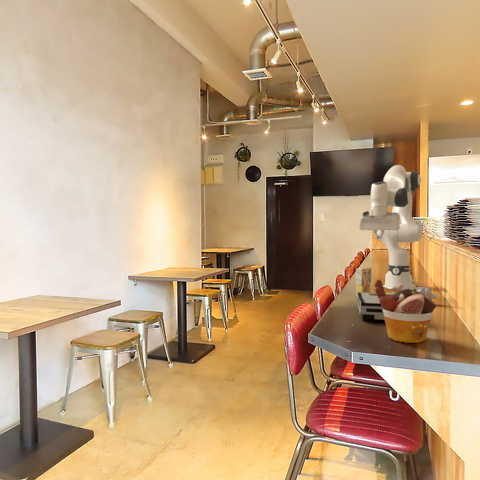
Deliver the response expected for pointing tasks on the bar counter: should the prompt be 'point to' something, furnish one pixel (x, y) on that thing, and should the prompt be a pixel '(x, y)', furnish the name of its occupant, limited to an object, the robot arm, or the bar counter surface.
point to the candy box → (363, 280)
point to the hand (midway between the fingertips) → (379, 239)
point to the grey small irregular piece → (423, 290)
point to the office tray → (370, 307)
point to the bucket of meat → (406, 313)
